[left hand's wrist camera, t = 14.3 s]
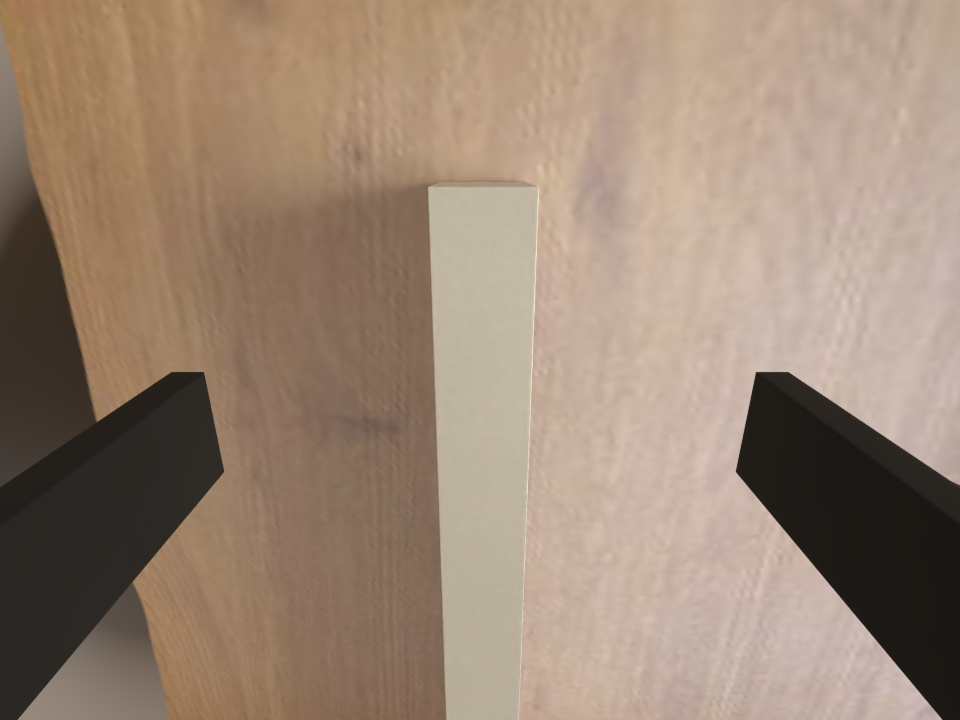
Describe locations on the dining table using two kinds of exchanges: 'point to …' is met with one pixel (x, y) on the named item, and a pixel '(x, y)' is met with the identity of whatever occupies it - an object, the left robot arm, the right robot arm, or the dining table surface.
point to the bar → (482, 432)
